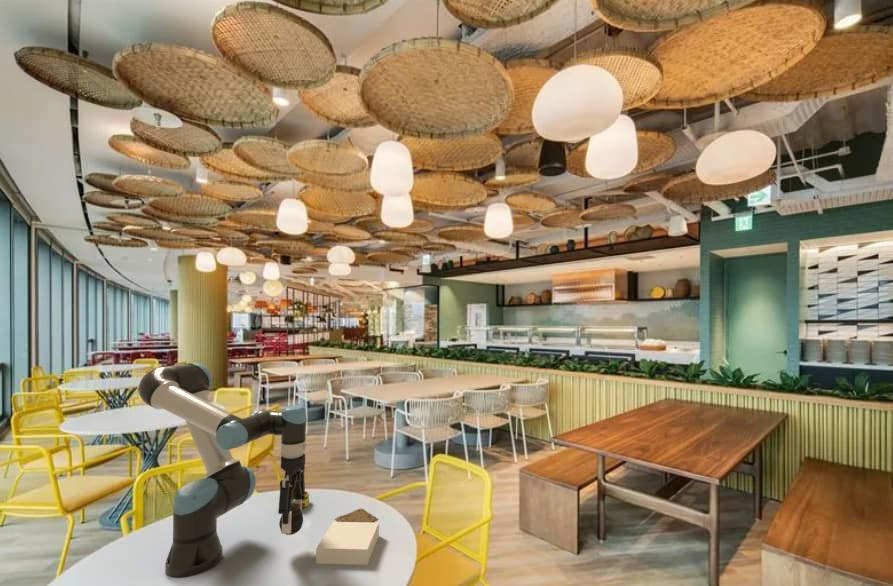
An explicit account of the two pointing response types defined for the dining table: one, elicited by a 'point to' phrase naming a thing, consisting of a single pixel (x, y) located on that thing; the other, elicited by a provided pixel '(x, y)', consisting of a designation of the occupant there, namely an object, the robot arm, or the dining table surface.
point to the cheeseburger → (305, 501)
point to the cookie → (357, 517)
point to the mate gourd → (294, 518)
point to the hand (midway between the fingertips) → (291, 526)
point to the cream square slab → (348, 543)
